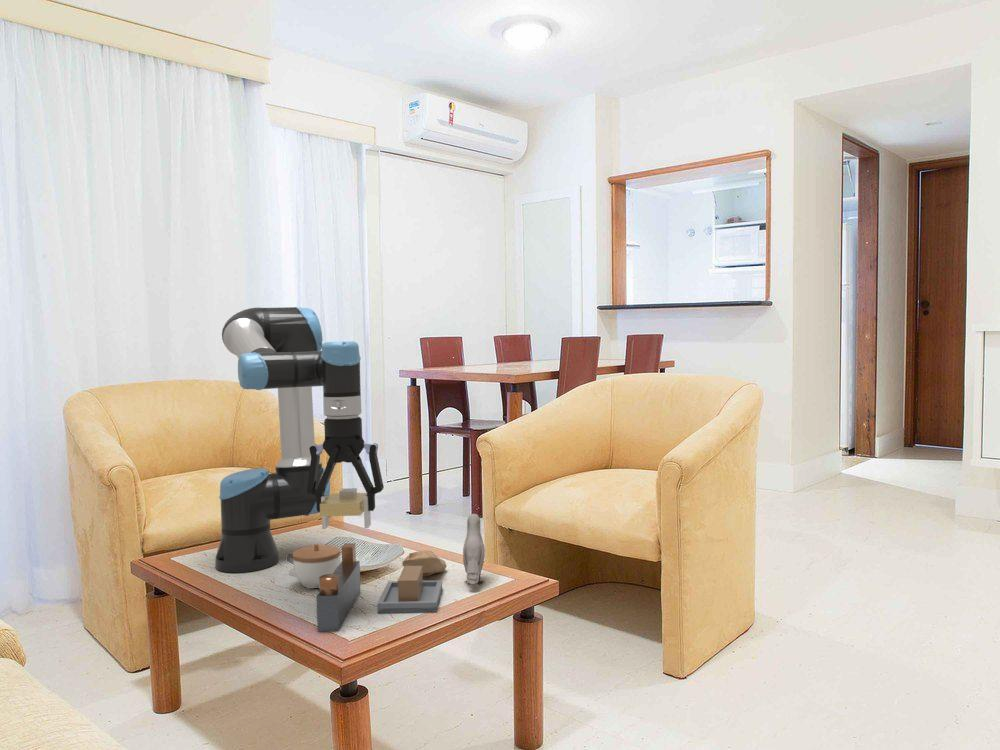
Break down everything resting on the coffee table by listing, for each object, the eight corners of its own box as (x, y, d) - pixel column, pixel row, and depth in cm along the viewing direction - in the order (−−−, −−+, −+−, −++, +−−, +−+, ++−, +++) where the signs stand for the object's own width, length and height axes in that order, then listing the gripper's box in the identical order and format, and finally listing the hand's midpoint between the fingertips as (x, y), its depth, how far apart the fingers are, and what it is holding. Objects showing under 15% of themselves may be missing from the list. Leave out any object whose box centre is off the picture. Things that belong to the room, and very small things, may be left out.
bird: (486, 573, 176) (484, 510, 176) (483, 592, 163) (482, 524, 162) (465, 573, 177) (464, 510, 176) (461, 592, 163) (459, 525, 162)
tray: (388, 590, 166) (387, 563, 166) (442, 589, 166) (441, 562, 166) (377, 613, 152) (376, 584, 152) (436, 612, 152) (435, 583, 152)
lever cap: (332, 505, 159) (332, 487, 158) (370, 504, 158) (369, 487, 158) (320, 516, 149) (319, 497, 148) (360, 515, 148) (359, 497, 148)
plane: (342, 592, 165) (340, 543, 164) (360, 592, 165) (358, 543, 164) (317, 631, 143) (315, 575, 143) (338, 631, 143) (336, 574, 142)
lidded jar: (351, 580, 173) (349, 540, 173) (319, 595, 164) (318, 553, 163) (315, 574, 178) (314, 536, 178) (283, 588, 169) (281, 547, 168)
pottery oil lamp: (459, 573, 177) (458, 544, 176) (423, 587, 167) (422, 556, 167) (432, 567, 182) (431, 538, 182) (396, 580, 173) (395, 550, 172)
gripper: (286, 419, 149) (290, 532, 150) (390, 417, 149) (394, 530, 150) (297, 415, 157) (301, 523, 158) (396, 413, 156) (400, 521, 157)
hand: (346, 526), depth 154 cm, fingers closed on lever cap, 8 cm apart
